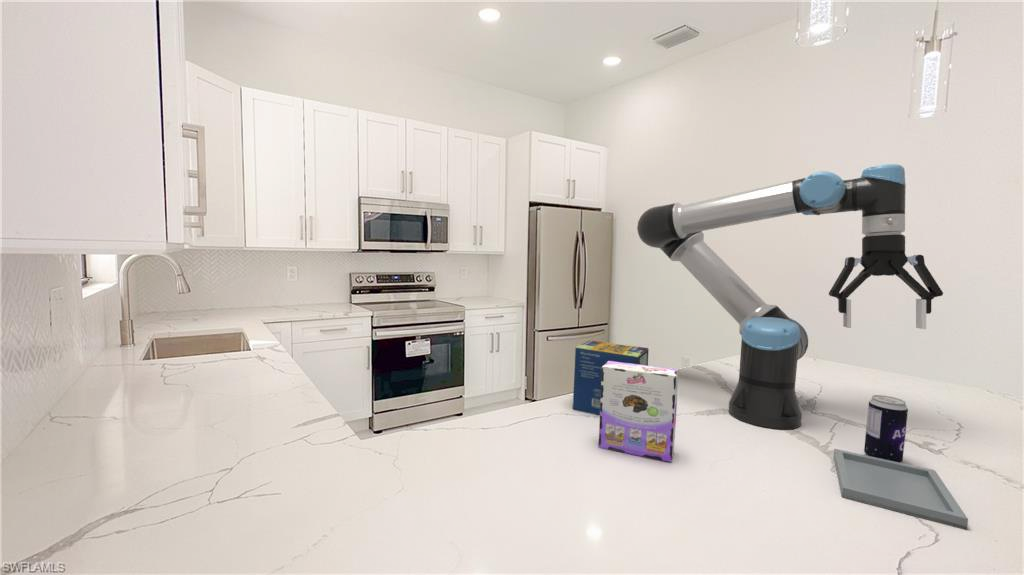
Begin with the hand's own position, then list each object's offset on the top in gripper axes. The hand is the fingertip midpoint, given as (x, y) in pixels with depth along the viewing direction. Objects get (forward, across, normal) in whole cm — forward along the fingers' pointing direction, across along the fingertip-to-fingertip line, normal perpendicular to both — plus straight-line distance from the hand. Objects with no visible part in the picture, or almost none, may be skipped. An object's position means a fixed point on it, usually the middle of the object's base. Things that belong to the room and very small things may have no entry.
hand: (883, 327), depth 101 cm
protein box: (+19, -60, -18) cm, 65 cm away
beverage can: (+23, -7, -21) cm, 32 cm away
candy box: (+20, -51, -37) cm, 67 cm away
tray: (+23, -10, -34) cm, 42 cm away
